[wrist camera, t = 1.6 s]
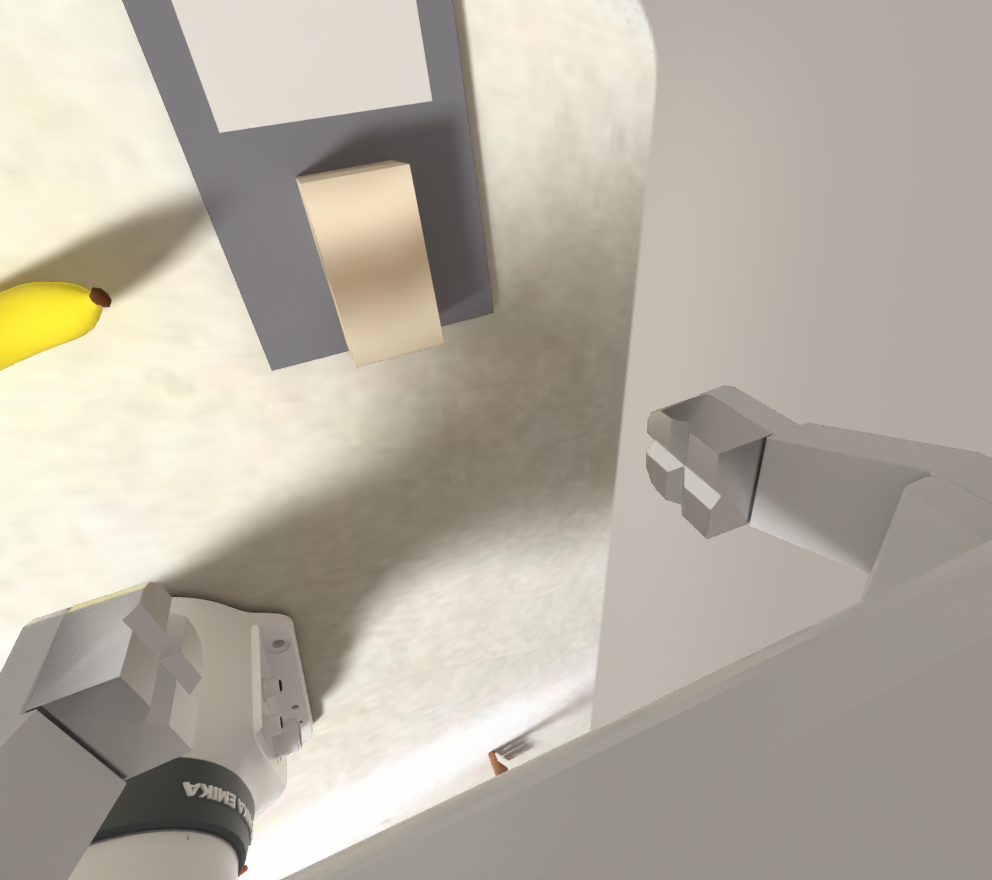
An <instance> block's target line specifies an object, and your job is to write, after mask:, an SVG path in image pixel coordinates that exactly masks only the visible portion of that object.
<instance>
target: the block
mask: <svg viewBox="0 0 992 880" xmlns="http://www.w3.org/2000/svg"><path fill="white" fill-rule="evenodd" d="M295 178H296V181H297V184H298V188H299V191H300V194H301V197H302V201H303V204H304V207H305V210H306V214H307V217H308V220H309V223H310V227H311V230H312V233H313V237H314V240H315V243H316V246H317V250H318V253H319V256H320V259H321V263H322V266H323V269H324V272H325V276H326V279H327V282H328V285H329V289H330V292H331V295H332V299H333V302H334V305H335V308H336V312H337V315H338V318H339V321H340V325H341V328H342V331H343V334H344V338H345V341H346V344H347V346H348V349H349V351H350V354H351V356H352V359H353V361H354V364H355V366H356V368H357V367H360V366H364V365H368V364H371V363H375V362H379V361H383V360H386V359H390V358H394V357H397V356H401V355H405V354H408V353H412V352H416V351H420V350H423V349H427V348H431V347H434V346H438V345H442V344H444V340H443V334H442V329H441V324H440V319H439V314H438V309H437V304H436V298H435V293H434V288H433V283H432V278H431V273H430V267H429V262H428V257H427V252H426V247H425V242H424V236H423V231H422V226H421V221H420V216H419V211H418V206H417V200H416V195H415V190H414V185H413V180H412V175H411V169H410V164H407V163H402V162H398V161H394V160H389V161H384V162H378V163H372V164H367V165H361V166H355V167H349V168H344V169H338V170H332V171H327V172H321V173H315V174H310V175H304V176H298V177H295Z"/></svg>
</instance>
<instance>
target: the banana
mask: <svg viewBox="0 0 992 880" xmlns="http://www.w3.org/2000/svg"><path fill="white" fill-rule="evenodd" d="M110 304H111V298H110V297H109V295H108V293H106V292H105V291H104V290H102V289H101V288H92V290H91V291H90V290H88V289H86V288H84V287H83V286H81V285H78V284H73V283H68V282H29V283H25V284H20V285H17V286H14V287H12V288H9V289H6V290H4V291H1V292H0V371H1V370H3V369H5V368H7V367H9V366H11V365H13V364H15V363H17V362H19V361H22V360H24V359H26V358H29V357H31V356H33V355H35V354H38V353H40V352H42V351H45V350H47V349H50V348H53V347H55V346H58V345H60V344H63V343H66V342H69V341H72V340H74V339H77V338H79V337H81V336H84V335H85V334H87V333H88V332H89V331H91V330H92V329H93V328H94V327H95V325H96V323H97V322H98V320H99V318H100V315H101V312H102V307H110Z"/></svg>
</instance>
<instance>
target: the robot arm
mask: <svg viewBox="0 0 992 880" xmlns="http://www.w3.org/2000/svg"><path fill="white" fill-rule="evenodd" d="M647 433H648V434H649V435H650V436H651V437H652V438H653V439H654V441H653V443H652V444H651V446H650V447H649V449H648V451H647V452H646V466H647V467H646V468H647V471H648V473H649V476H650V479H651V482H652V484H653V485H654V486H655V488H656V490H657V491H658V492H659V493H660V494H661V495H662V496H663V497H664V498H665V499H666V500H669V501H672V502H675V503H678V504H681V506H682V516H683V517H684V518H685V519H686V520H688V521H689V522H690V523H691V524H692V525H693V526H694V527H695V528H696V529H697V530H698V531H699V532H700V533H701V534H702V535H703V536H704V537H705V538H706V539H709V538H712V537H714V536H717V535H720V534H722V533H725V532H727V531H730V530H733V529H735V528H738V527H741V526H743V525H746V524H749V523H750V525H749V526H752V527H754V528H756V529H759V530H762V531H764V532H766V533H769V534H771V535H774V536H776V537H778V538H781V539H783V540H786V541H788V542H791V543H793V544H796V545H798V546H800V547H803V548H805V549H808V550H811V551H813V552H815V553H818V554H820V555H823V556H825V557H828V558H830V559H832V560H835V561H837V562H840V563H842V564H845V565H847V566H849V567H852V568H854V569H857V570H859V571H862V572H864V573H867V574H869V577H868V579H867V582H866V584H865V587H864V589H863V592H862V594H861V602H859V603H857V604H855V605H853V606H851V607H849V608H847V609H845V610H843V611H841V612H839V613H836V614H834V615H832V616H830V617H828V618H826V619H824V620H822V621H820V622H818V623H816V624H813V625H811V626H809V627H807V628H805V629H803V630H801V631H799V632H797V633H795V634H793V635H790V636H788V637H786V638H784V639H782V640H780V641H778V642H776V643H774V644H772V645H769V646H768V647H765V648H763V649H761V650H759V651H757V652H755V653H753V654H751V655H749V656H746V657H745V658H742V659H740V660H738V661H736V662H734V663H732V664H730V665H728V666H726V667H724V668H721V669H719V670H717V671H715V672H713V673H711V674H709V675H707V676H705V677H703V678H701V679H699V680H696V681H694V682H692V683H690V684H688V685H686V686H684V687H682V688H680V689H677V690H675V691H673V692H671V693H669V694H667V695H665V696H663V697H661V698H659V699H657V700H654V701H652V702H650V703H648V704H646V705H644V706H642V707H640V708H638V709H636V710H633V711H631V712H629V713H627V714H625V715H623V716H621V717H619V718H617V719H615V720H613V721H611V722H608V723H606V724H604V725H602V726H600V727H598V728H596V729H594V730H592V731H590V732H587V733H585V734H583V735H581V736H579V737H577V738H575V739H573V740H571V741H569V742H567V743H565V744H562V745H560V746H558V747H556V748H554V749H552V750H550V751H548V752H546V753H544V754H542V755H539V756H537V757H535V758H533V759H531V760H529V761H527V762H525V763H523V764H521V765H519V766H517V767H514V768H512V769H510V770H508V771H506V772H504V773H502V774H500V775H498V776H496V777H494V778H492V779H489V780H487V781H485V782H483V783H481V784H479V785H477V786H475V787H473V788H471V789H469V790H467V791H464V792H462V793H460V794H458V795H456V796H454V797H452V798H450V799H448V800H446V801H444V802H441V803H439V804H437V805H435V806H433V807H431V808H429V809H427V810H425V811H423V812H421V813H419V814H416V815H414V816H412V817H410V818H408V819H406V820H404V821H402V822H400V823H398V824H396V825H394V826H391V827H389V828H387V829H385V830H383V831H381V832H379V833H377V834H375V835H373V836H371V837H368V838H366V839H364V840H362V841H360V842H358V843H356V844H354V845H352V846H350V847H348V848H345V849H343V850H341V851H339V852H337V853H335V854H333V855H331V856H329V857H327V858H325V859H323V860H320V861H318V862H316V863H314V864H312V865H310V866H308V867H306V868H304V869H302V870H300V871H297V872H295V873H293V874H291V875H289V876H287V877H285V878H283V879H281V880H992V458H990V457H988V456H986V455H984V454H981V453H979V452H974V451H968V450H962V449H957V448H951V447H945V446H939V445H934V444H928V443H922V442H917V441H911V440H905V439H899V438H893V437H888V436H882V435H876V434H871V433H865V432H859V431H853V430H848V429H842V428H836V427H830V426H825V425H819V424H813V423H805V424H802V425H799V424H797V423H796V422H794V421H792V420H790V419H789V418H787V417H785V416H783V415H782V414H780V413H778V412H776V411H775V410H773V409H771V408H769V407H768V406H766V405H764V404H762V403H761V402H759V401H757V400H756V399H754V398H752V397H750V396H749V395H747V394H745V393H743V392H742V391H740V390H738V389H736V388H735V387H731V386H722V387H719V388H716V389H714V390H711V391H708V392H705V393H703V394H700V396H697V397H694V398H691V399H688V400H685V401H682V402H679V403H677V404H674V405H671V406H668V407H665V408H662V409H659V410H656V411H653V412H651V414H650V416H649V419H648V425H647ZM277 640H278V641H277ZM312 732H313V720H312V714H311V709H310V704H309V699H308V694H307V689H306V684H305V679H304V674H303V669H302V664H301V659H300V654H299V649H298V644H297V639H296V634H295V629H294V624H293V621H292V619H291V618H290V617H288V616H286V615H282V614H275V613H249V612H244V611H241V610H237V609H235V608H232V607H229V606H226V605H223V604H220V603H217V602H213V601H208V600H203V599H196V598H185V597H171V596H170V594H169V593H168V592H167V591H166V590H165V588H164V587H163V586H162V585H161V584H160V583H157V582H147V583H144V584H141V585H138V586H135V587H131V588H128V589H125V590H122V591H119V592H116V593H112V594H109V595H106V596H103V597H100V598H97V599H94V600H90V601H87V602H84V603H81V604H78V605H75V606H74V607H71V608H66V609H63V610H60V611H57V612H54V613H51V614H48V615H45V616H42V617H39V618H36V619H34V620H32V621H31V622H30V623H28V624H27V625H26V626H24V627H23V628H22V630H21V632H20V635H19V637H18V639H17V641H16V643H15V645H14V647H13V649H12V651H11V653H10V655H9V657H8V659H7V661H6V663H5V665H4V667H3V669H2V671H1V673H0V880H238V877H239V876H240V875H241V874H243V873H244V872H245V871H247V869H248V867H247V865H245V866H244V864H245V860H246V855H247V851H248V846H249V845H251V840H252V834H253V820H254V819H255V818H257V817H258V816H259V815H260V814H261V813H262V812H264V811H265V810H266V809H267V808H268V807H270V806H271V805H272V804H273V803H274V802H275V801H276V800H277V799H278V798H279V797H280V795H281V794H282V792H283V791H284V789H285V787H286V783H287V755H289V754H290V753H293V752H296V751H299V750H300V749H301V748H302V744H303V743H304V742H305V741H306V740H307V739H308V738H309V737H310V736H311V735H312Z"/></svg>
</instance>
